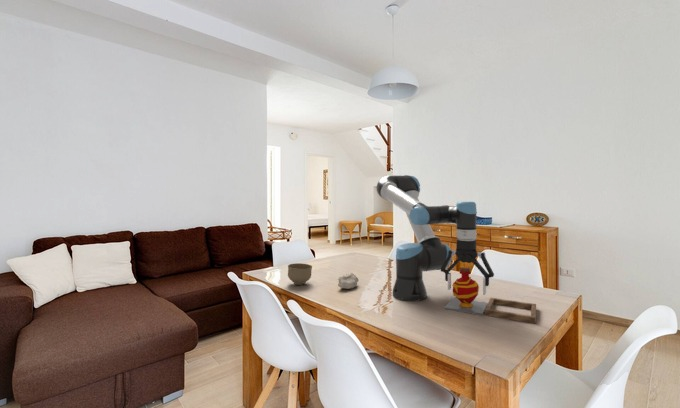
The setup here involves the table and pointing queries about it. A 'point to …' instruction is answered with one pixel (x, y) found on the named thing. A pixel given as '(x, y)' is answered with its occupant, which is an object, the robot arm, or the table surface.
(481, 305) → the coaster
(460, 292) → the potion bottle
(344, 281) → the stone
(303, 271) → the bowl
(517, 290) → the table surface
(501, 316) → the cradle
